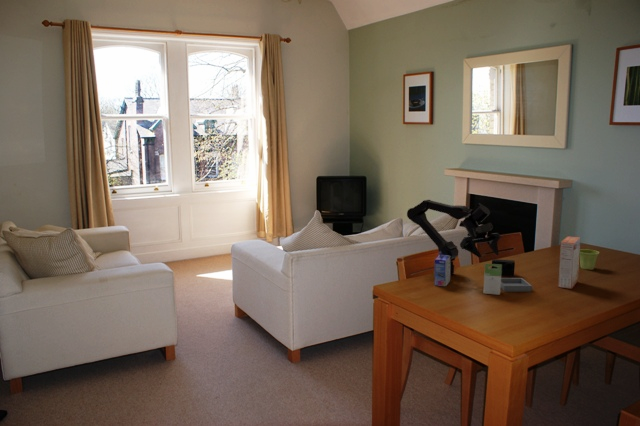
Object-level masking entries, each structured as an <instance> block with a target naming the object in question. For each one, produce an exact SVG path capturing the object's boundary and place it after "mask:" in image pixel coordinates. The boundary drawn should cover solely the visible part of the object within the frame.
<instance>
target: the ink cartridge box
mask: <svg viewBox="0 0 640 426" xmlns="http://www.w3.org/2000/svg"><path fill="white" fill-rule="evenodd" d="M440 253H441V251H440V252H439V251H438V256H437V257H435V259H434V286H438V287H447V285H448V284H449V283H451V282H450V281H451V275H450V255H442V253H441V255H440Z"/></svg>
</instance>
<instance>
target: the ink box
mask: <svg viewBox="0 0 640 426" xmlns="http://www.w3.org/2000/svg"><path fill="white" fill-rule="evenodd" d="M492 266H495V267H498V269H492ZM490 267H491V268H490ZM501 267H502V265H501V264H492V263H484V272H483V273H484V274H483V289H482V290H483V294H486V295H487V294H488V295H495V296H496V295H498V296H500V295H501V278H502V276H501V272H502V271H501Z"/></svg>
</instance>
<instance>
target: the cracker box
mask: <svg viewBox="0 0 640 426" xmlns="http://www.w3.org/2000/svg"><path fill="white" fill-rule="evenodd" d="M580 250H581V237H577V236H570V235H569V236H566V237H565V238H564V239H563V240H561V242H560V250H559V252H560V253H559V270H558V271H559V272H558V273H559V274H558V288H562V289H567V290H568V289H569V290H572V289H573V288H574V287H575V285H576V284H577V283H578V280H579V266H580V264H579V263H580V255H579V252H580Z"/></svg>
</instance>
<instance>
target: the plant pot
mask: <svg viewBox="0 0 640 426" xmlns="http://www.w3.org/2000/svg"><path fill="white" fill-rule="evenodd" d="M599 254H600V251H598V250H594V249H587V248H585V249H584V248H583V249H581V248H580V252H579V263H580V264H579V266H580V268H581V269H582V270H589V271H590V270H591V271H592V270H594V269H595V267H596V262H597V258H598V256H599Z"/></svg>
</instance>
